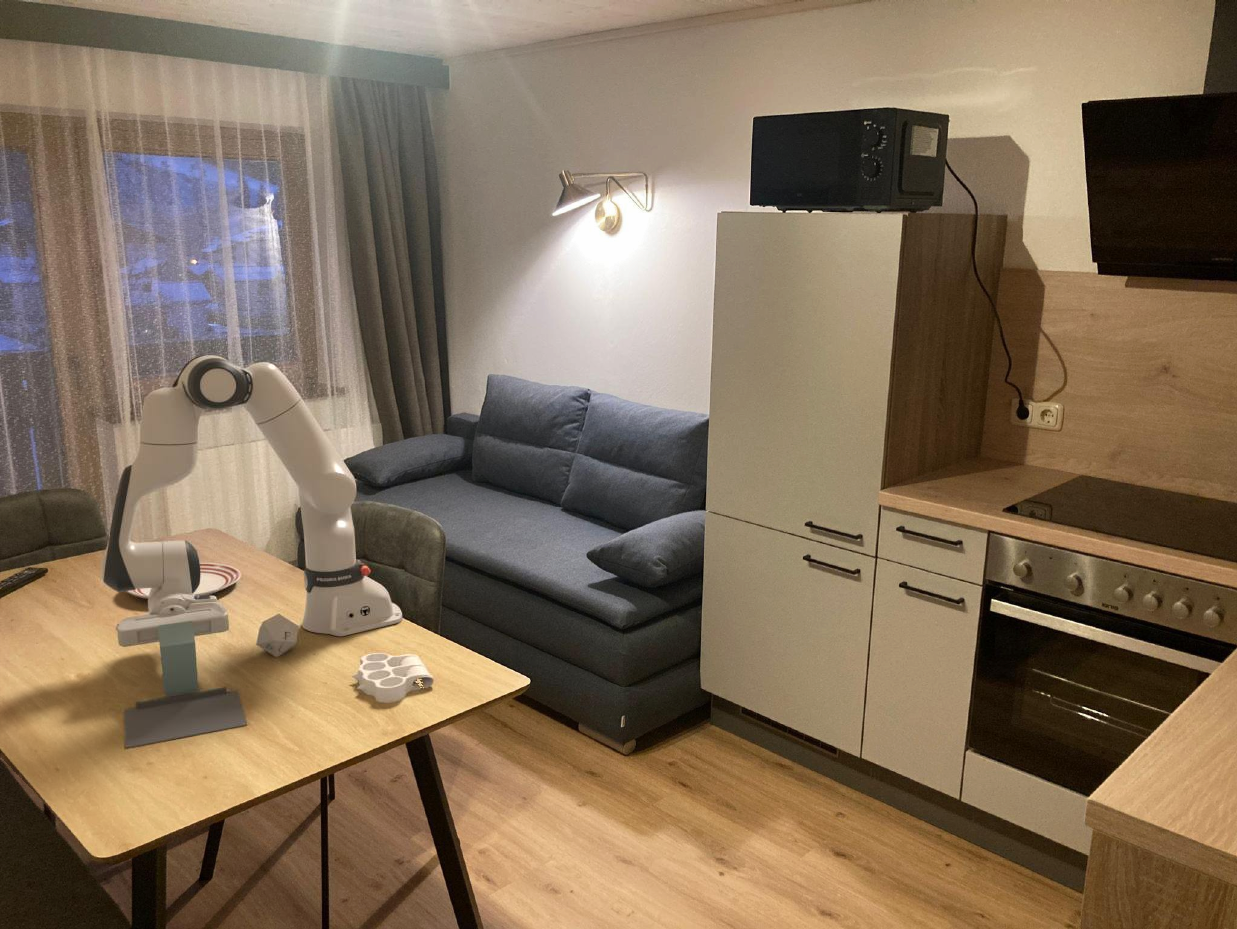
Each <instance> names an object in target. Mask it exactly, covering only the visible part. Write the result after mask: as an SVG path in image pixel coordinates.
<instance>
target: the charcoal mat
mask: <svg viewBox="0 0 1237 929" xmlns="http://www.w3.org/2000/svg"><path fill="white" fill-rule="evenodd" d="M245 726H248V723H247V720H246V715H245V713H244V709H243V705H242V702H241V697H240V693H239V690H238V689H232V690H228V689H227V686H222V687H216V688H211V689H205V690H200V691H198V692H192V693H186V694H181V695H175V696H169V697H165V696H164V697H159V698H151V699H146V700H143V701H136V702H135V707H130V708H125V709H124V743H125V744H124V748H125V749H126V750H127V749H132V748H136V747H142V746H146V745H151V744H153V745H154V744H157V743H162V742H167V741H172V740H173V741H174V740H177V739H184V738H189V737H194V736H199V735H204V734H209V733H214V732H219V731H224V730H231V729H236V728H240V727H245Z"/></svg>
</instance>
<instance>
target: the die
mask: <svg viewBox="0 0 1237 929" xmlns="http://www.w3.org/2000/svg"><path fill="white" fill-rule="evenodd" d="M298 635H299V625H298V624H297V623H294V622H293V621H291V619H288V618H286V617H285V616H284V615H281V614H280V613H277V614H275V615H273V616H271V617H269V618H268V619H265V620H264V621H262V622H261V625H260V626H259V629H258V634H257V639H256V643H255V645H256V646H257V647H260V648H261V649H262V650H264V651H265V652H268V653H269V654H270V655H271V656H273V657H275V658H278V657H280V656H282V655H284V654H285V653H287V652H289V651H290V650H293V648H294V647H295V646H296V643H297V640H298Z"/></svg>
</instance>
